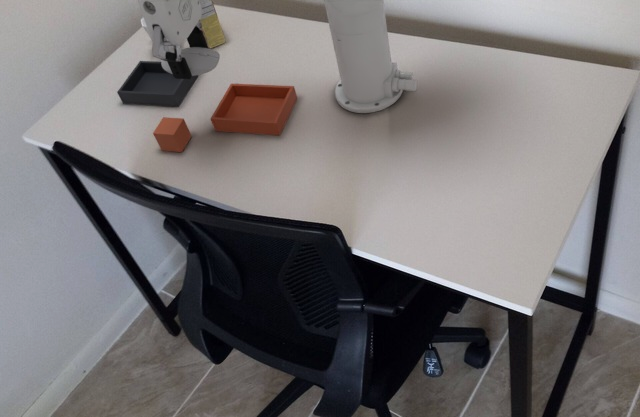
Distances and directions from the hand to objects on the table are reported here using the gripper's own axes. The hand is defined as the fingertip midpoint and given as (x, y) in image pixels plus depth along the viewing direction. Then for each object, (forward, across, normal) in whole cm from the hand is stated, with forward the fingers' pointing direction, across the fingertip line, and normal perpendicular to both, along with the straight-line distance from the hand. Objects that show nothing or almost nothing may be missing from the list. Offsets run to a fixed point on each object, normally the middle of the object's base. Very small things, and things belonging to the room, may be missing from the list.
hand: (191, 63), depth 110 cm
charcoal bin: (+15, +11, +17) cm, 25 cm away
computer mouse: (+1, 0, 0) cm, 1 cm away
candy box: (+15, +29, +13) cm, 35 cm away
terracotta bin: (+15, +4, -6) cm, 17 cm away
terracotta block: (+15, -4, +7) cm, 17 cm away
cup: (+15, +25, +23) cm, 37 cm away
